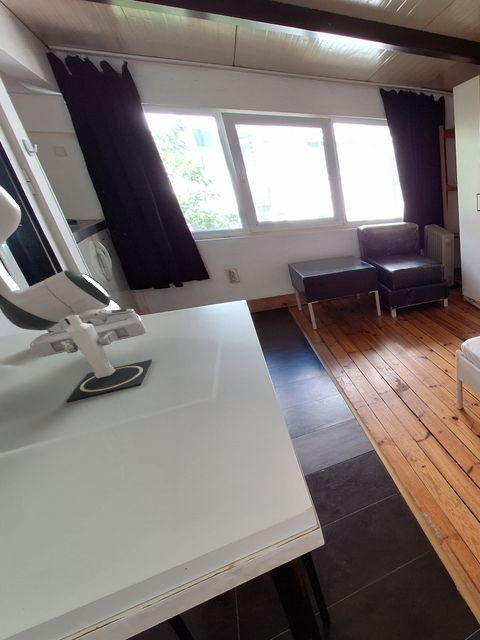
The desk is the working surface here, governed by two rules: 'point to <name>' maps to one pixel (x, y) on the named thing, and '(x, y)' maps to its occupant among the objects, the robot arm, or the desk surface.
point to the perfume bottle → (89, 346)
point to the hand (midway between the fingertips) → (87, 345)
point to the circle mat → (111, 381)
